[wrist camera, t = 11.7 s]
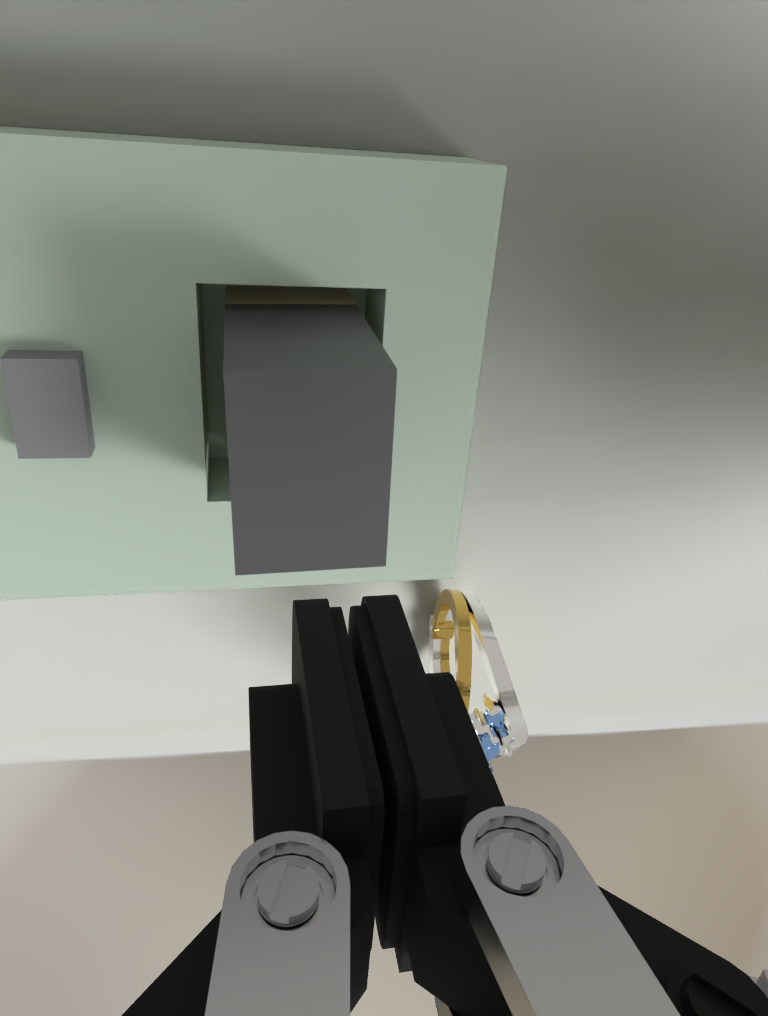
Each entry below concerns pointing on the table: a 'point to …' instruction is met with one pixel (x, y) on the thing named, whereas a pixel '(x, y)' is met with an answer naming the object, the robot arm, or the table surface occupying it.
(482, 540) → the table surface
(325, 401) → the plug
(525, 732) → the ring
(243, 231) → the socket
